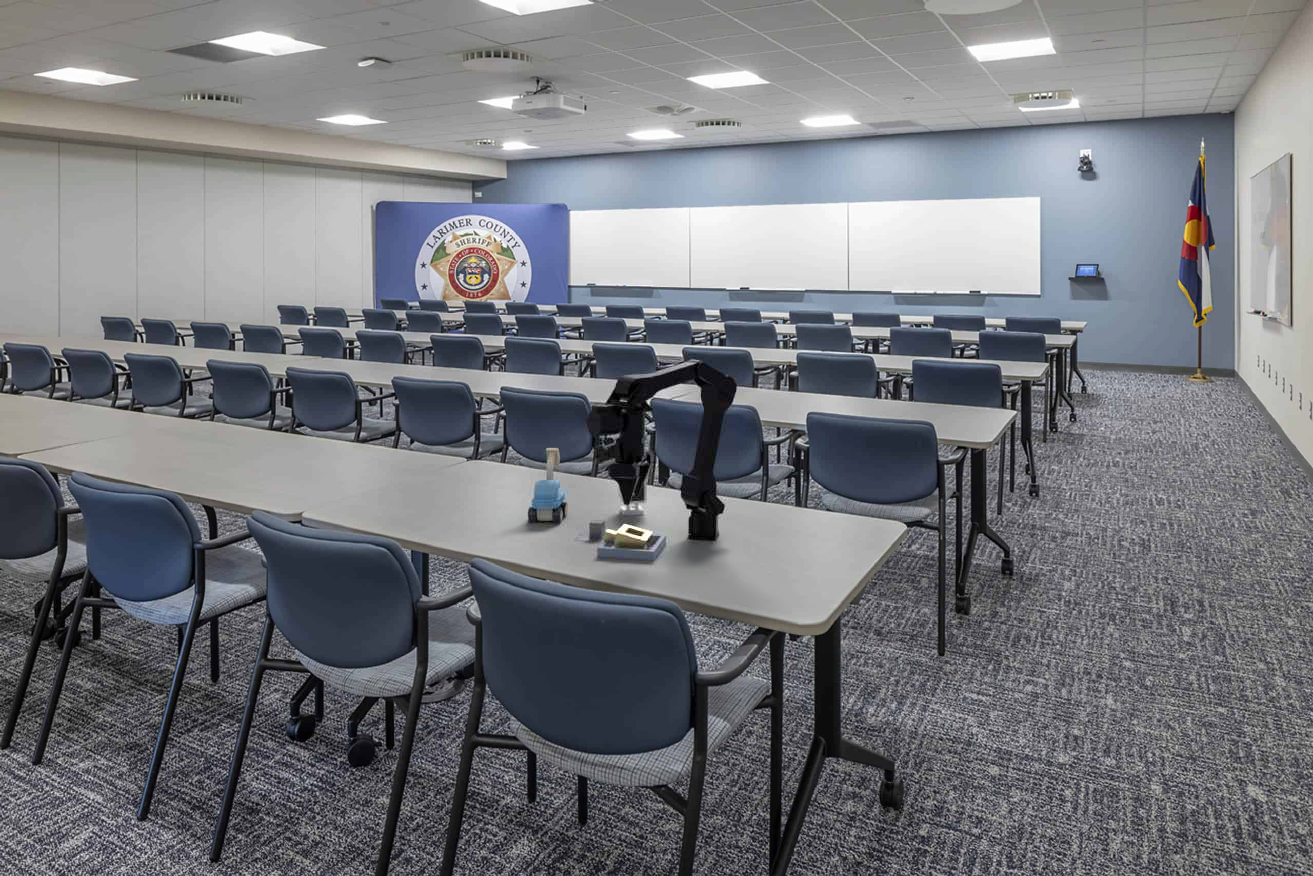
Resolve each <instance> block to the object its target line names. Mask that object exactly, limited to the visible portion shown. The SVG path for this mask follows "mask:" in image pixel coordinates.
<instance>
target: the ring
mask: <svg viewBox="0 0 1313 876" xmlns="http://www.w3.org/2000/svg"><path fill="white" fill-rule="evenodd" d="M605 531H606V532H605V537H604V540H607V541H610V542H614V546H613V547H617V548H628V549H642V550H647V549H648V547H649V546H650V542H651V538H652V534H654V532H653V531H651V530H647V529H643V528H639V527H637V526H633V525H629V524H626V523H623V524H622V526H621V527H619V528H618V530H617V531H615V530H612V529H606V530H605Z"/></svg>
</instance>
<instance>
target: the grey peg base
mask: <svg viewBox="0 0 1313 876" xmlns="http://www.w3.org/2000/svg"><path fill="white" fill-rule="evenodd" d="M588 523H589V529H583V530H582V531H581V533H579V534H578V535H577V536H576V537H575V538H574V539H573V541H578V542H579V541H581V542H582V541H583V542H592V543H593V542H597V543H602V542H603V541H604V537H605V532H606V531H607V530H606V520H605V519H592V520H591V521H589V522H588Z"/></svg>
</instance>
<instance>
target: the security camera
mask: <svg viewBox="0 0 1313 876" xmlns="http://www.w3.org/2000/svg"><path fill="white" fill-rule="evenodd" d="M647 484H648V483H647V480H646V479H645V482H644V484H643V487H642V489H641V491H640V494H639V495H634V493H633V496H632V499H631V501H630V504H631V506H630V504H629V505H620V506H619V511H620V513H621V512H622V513H621V515H622V514H623V515H622V516H634V515H636V516H645V512H644V508H643V507H642V505H639V504H644V503H647V496H648V495H647V487H648V485H647ZM618 497H619V499H620V500H621V502H622V504H624V502H623V498H622V495H621V491H620V488H619V487H618ZM632 504H634V505H632Z"/></svg>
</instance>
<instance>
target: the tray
mask: <svg viewBox="0 0 1313 876" xmlns="http://www.w3.org/2000/svg"><path fill="white" fill-rule="evenodd" d="M666 544H667V535H666V534H654V533H653V534H652V538H651V542H650V546H649V547H648V549H647V550H642V549H628V548H617V547H613V546H614V542H610V541H607V540H604V541H603V542H600V544H599V545H598V546H597V549H596V553H597V554H596V556H597V558H608V559H609V558H610V559H621V560H634V561H636V560H637V561H647V562H654V561H655V560H656V559H657V557H658V556H659V554H660V553H661V552H662V550H663V549H664V548H665V546H666Z"/></svg>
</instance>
